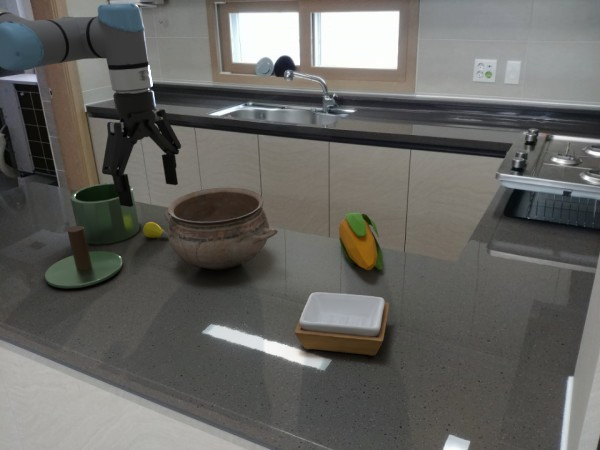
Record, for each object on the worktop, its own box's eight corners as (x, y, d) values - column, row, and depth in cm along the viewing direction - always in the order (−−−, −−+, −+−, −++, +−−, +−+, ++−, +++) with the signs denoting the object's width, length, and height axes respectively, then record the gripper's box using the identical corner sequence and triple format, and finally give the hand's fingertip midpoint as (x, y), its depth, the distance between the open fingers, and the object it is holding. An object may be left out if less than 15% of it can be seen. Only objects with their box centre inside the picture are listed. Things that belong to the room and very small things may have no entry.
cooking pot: (302, 253, 106) (300, 195, 101) (250, 299, 91) (244, 234, 86) (201, 233, 117) (194, 180, 112) (139, 271, 102) (129, 211, 97)
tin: (67, 238, 117) (57, 198, 113) (110, 218, 127) (102, 180, 123) (109, 248, 112) (100, 206, 108) (151, 226, 122) (144, 186, 118)
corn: (369, 201, 109) (392, 242, 91) (371, 234, 112) (394, 281, 94) (333, 205, 109) (349, 248, 91) (336, 239, 112) (352, 287, 94)
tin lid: (29, 282, 100) (17, 237, 96) (88, 251, 111) (78, 210, 107) (82, 297, 94) (71, 250, 90) (138, 263, 105) (130, 220, 101)
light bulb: (146, 233, 118) (150, 218, 117) (170, 243, 117) (174, 228, 116) (138, 235, 114) (142, 220, 114) (162, 245, 113) (167, 229, 113)
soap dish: (388, 323, 83) (389, 295, 81) (382, 363, 74) (383, 332, 72) (309, 315, 85) (308, 288, 83) (295, 353, 77) (293, 323, 75)
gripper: (97, 103, 91) (119, 218, 100) (189, 80, 111) (201, 178, 120) (66, 101, 95) (90, 213, 103) (161, 79, 115) (175, 174, 123)
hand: (150, 194), depth 111 cm, fingers open, 13 cm apart
